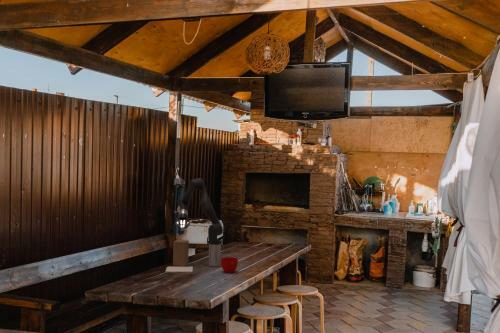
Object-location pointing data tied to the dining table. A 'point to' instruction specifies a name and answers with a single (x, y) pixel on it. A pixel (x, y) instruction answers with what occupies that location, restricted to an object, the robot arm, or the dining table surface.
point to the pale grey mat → (179, 269)
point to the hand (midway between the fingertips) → (182, 231)
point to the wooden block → (180, 253)
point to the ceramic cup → (229, 264)
